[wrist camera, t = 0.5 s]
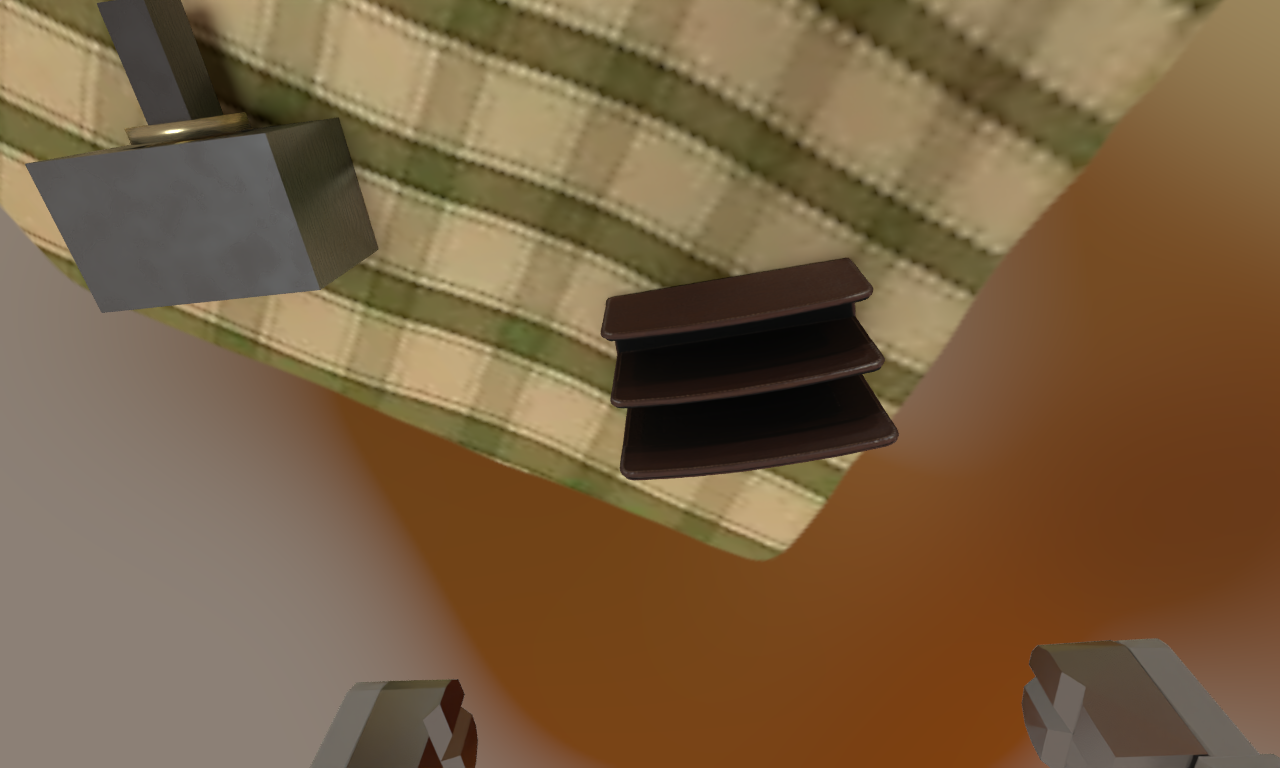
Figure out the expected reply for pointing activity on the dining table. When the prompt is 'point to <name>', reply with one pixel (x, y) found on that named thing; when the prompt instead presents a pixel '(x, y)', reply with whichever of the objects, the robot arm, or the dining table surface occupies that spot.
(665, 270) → the dining table surface
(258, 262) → the housing
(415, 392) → the dining table surface
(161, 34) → the brass flanged shaft
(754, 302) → the letter holder
